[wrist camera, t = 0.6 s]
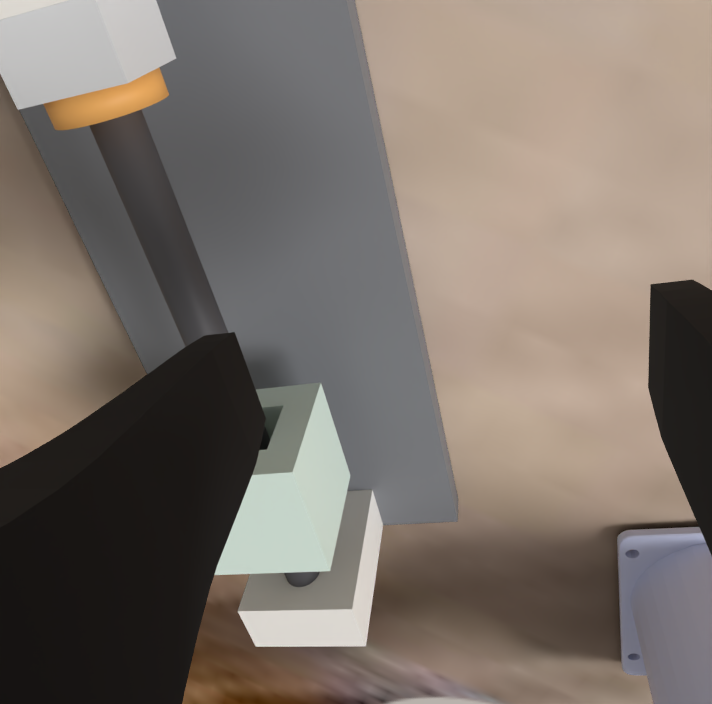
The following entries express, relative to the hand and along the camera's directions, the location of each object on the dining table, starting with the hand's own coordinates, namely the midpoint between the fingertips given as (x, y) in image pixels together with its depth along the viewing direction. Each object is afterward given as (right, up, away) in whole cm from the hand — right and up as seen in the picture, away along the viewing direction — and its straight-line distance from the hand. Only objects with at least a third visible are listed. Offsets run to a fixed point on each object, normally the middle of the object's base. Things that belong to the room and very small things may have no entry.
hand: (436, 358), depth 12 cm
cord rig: (-5, +3, +11) cm, 12 cm away
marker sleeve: (-4, -3, +11) cm, 12 cm away
